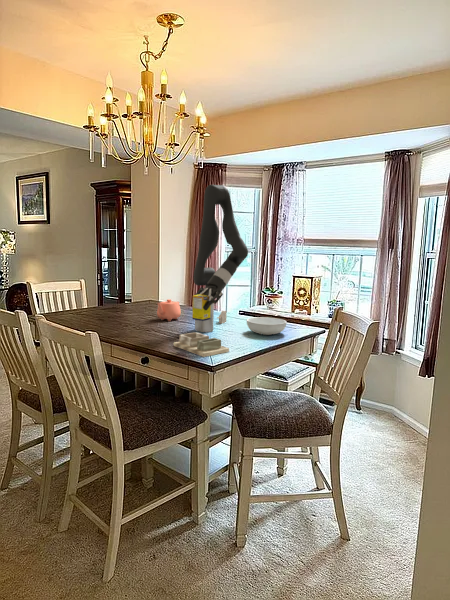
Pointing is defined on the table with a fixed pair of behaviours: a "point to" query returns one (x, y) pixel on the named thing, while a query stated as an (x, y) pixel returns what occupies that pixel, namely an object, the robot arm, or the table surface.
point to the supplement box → (200, 308)
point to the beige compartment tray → (200, 344)
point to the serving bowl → (266, 325)
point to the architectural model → (222, 317)
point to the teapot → (168, 310)
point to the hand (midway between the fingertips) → (199, 307)
